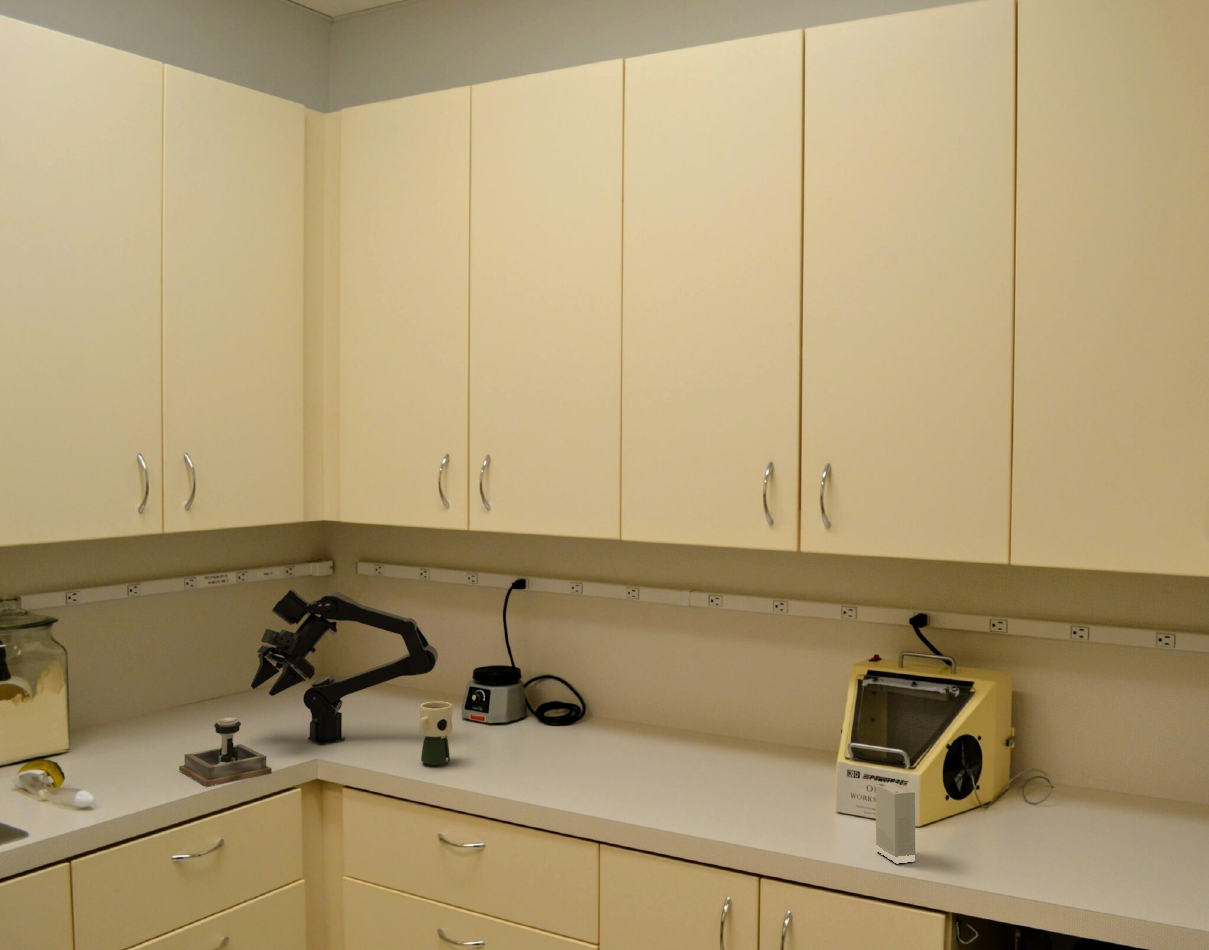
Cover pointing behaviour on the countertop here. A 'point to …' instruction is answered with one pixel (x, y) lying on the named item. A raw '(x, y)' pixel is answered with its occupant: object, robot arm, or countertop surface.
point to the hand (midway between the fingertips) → (261, 691)
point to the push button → (227, 738)
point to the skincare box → (895, 819)
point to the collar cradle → (224, 766)
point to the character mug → (435, 731)
